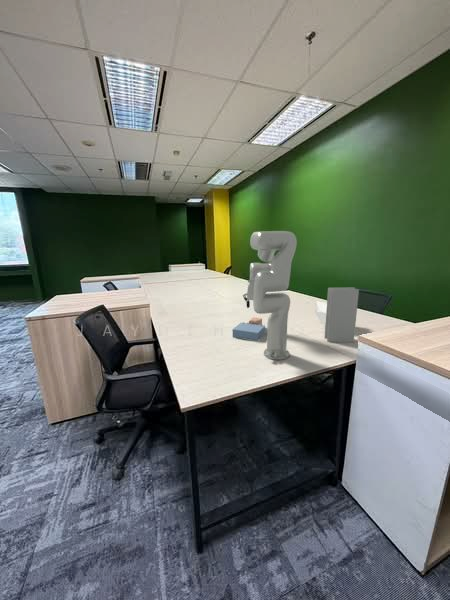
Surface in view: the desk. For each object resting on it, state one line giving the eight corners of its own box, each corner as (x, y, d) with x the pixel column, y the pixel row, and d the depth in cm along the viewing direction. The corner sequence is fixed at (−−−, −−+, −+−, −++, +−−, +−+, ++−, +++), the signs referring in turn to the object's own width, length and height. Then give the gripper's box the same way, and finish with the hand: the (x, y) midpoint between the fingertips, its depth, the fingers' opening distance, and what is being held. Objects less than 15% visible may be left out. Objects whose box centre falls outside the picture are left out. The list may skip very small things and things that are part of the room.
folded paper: (341, 306, 144) (356, 304, 154) (308, 299, 164) (323, 298, 173) (337, 333, 147) (353, 330, 157) (305, 323, 167) (321, 321, 176)
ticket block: (257, 341, 139) (258, 332, 138) (232, 337, 146) (232, 328, 145) (265, 332, 152) (265, 324, 151) (241, 329, 159) (241, 321, 158)
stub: (257, 331, 154) (257, 321, 153) (248, 329, 157) (248, 320, 155) (261, 326, 162) (262, 317, 161) (253, 325, 165) (253, 316, 163)
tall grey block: (349, 338, 140) (354, 287, 133) (353, 342, 134) (359, 289, 128) (324, 338, 141) (328, 287, 135) (327, 341, 136) (331, 289, 129)
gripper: (240, 282, 153) (240, 308, 158) (267, 284, 146) (266, 311, 150) (245, 280, 160) (245, 305, 164) (270, 282, 153) (269, 308, 157)
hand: (255, 308), depth 157 cm, fingers open, 9 cm apart
